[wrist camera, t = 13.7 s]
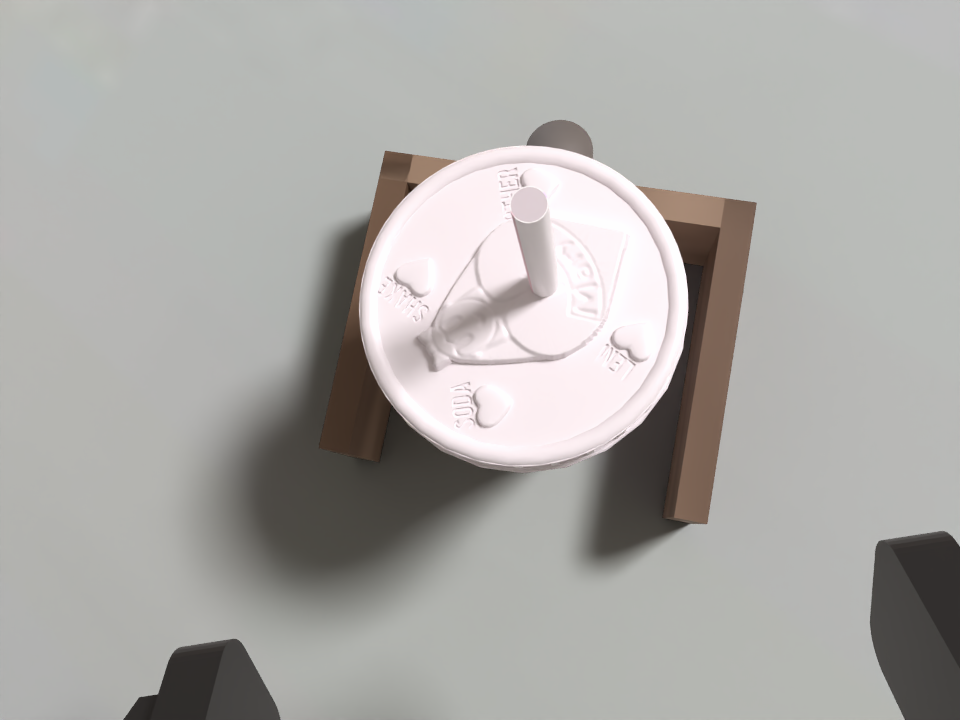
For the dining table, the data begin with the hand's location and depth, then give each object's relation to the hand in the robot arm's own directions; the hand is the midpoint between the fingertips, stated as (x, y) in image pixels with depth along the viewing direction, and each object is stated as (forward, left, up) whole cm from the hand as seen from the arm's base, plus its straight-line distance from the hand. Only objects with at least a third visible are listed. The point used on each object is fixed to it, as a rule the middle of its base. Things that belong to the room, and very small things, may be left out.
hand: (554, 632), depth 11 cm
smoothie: (-2, +5, -14) cm, 15 cm away
